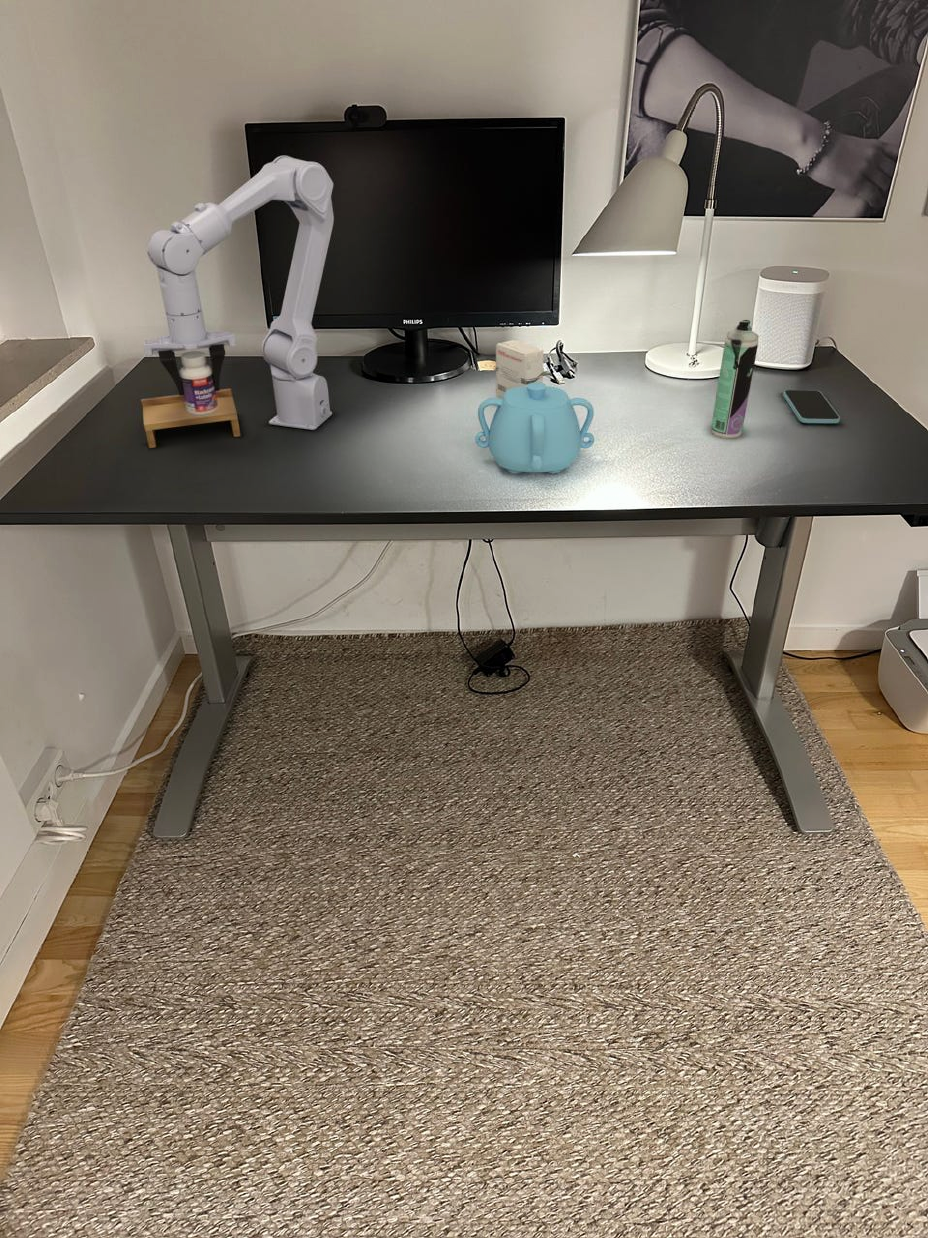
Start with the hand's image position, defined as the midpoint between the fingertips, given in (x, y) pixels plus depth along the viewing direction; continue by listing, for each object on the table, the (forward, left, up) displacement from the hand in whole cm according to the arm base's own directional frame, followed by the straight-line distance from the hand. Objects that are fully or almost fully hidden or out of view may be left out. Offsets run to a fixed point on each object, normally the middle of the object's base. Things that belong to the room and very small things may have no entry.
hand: (199, 391), depth 155 cm
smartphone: (-100, -49, -10) cm, 112 cm away
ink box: (-47, -34, -10) cm, 59 cm away
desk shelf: (+6, -5, -10) cm, 13 cm away
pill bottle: (0, 0, -4) cm, 4 cm away
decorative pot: (-56, -12, -10) cm, 58 cm away
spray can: (-86, -34, -10) cm, 93 cm away
